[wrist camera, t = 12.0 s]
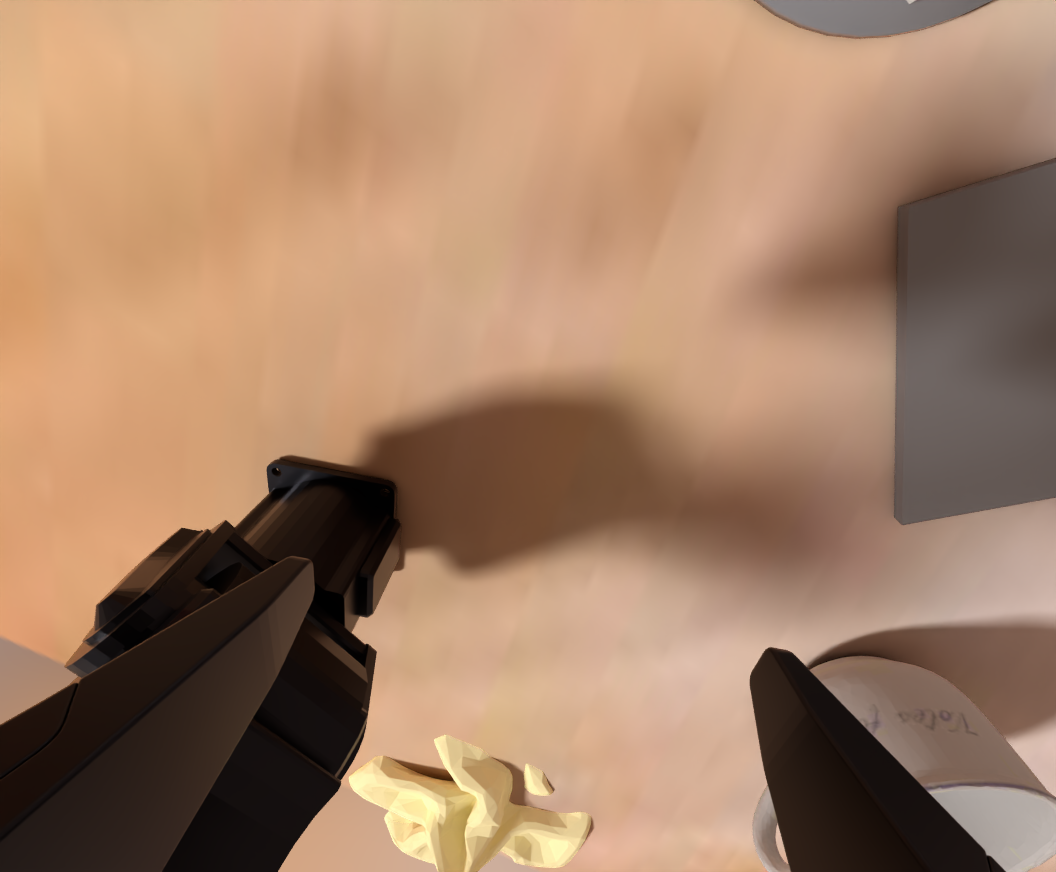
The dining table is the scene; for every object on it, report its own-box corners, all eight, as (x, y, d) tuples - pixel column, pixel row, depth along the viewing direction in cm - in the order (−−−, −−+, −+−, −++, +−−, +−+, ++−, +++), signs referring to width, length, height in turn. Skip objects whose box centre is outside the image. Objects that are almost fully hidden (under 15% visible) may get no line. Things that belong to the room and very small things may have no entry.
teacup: (910, 599, 25) (1045, 763, 18) (976, 710, 28) (1112, 884, 21) (674, 689, 30) (707, 846, 22) (756, 774, 33) (806, 934, 26)
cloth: (616, 850, 41) (622, 952, 35) (423, 861, 45) (402, 954, 39) (534, 686, 31) (525, 789, 26) (300, 719, 35) (251, 815, 30)
